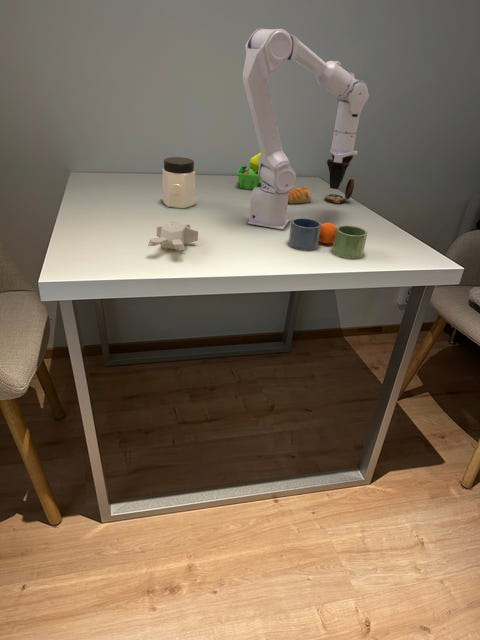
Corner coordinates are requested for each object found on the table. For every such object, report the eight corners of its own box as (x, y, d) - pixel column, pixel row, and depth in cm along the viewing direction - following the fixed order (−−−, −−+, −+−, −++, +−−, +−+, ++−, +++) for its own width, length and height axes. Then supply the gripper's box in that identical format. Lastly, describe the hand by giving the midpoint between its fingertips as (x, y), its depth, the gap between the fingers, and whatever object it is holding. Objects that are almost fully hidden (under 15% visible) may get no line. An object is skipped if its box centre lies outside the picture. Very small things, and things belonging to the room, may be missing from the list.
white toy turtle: (202, 221, 109) (188, 236, 96) (201, 242, 111) (187, 260, 98) (162, 217, 110) (143, 231, 96) (162, 238, 112) (143, 255, 98)
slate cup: (285, 247, 110) (288, 225, 107) (291, 237, 116) (294, 216, 113) (315, 252, 108) (319, 230, 106) (319, 242, 114) (323, 221, 111)
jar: (160, 206, 129) (159, 162, 123) (165, 198, 136) (165, 155, 130) (192, 209, 129) (193, 165, 123) (196, 201, 136) (197, 158, 130)
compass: (323, 197, 149) (327, 174, 146) (347, 199, 149) (352, 176, 146) (326, 204, 142) (330, 180, 139) (352, 206, 142) (357, 182, 139)
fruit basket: (240, 180, 160) (242, 146, 154) (266, 183, 159) (269, 148, 153) (235, 189, 150) (238, 152, 144) (263, 192, 149) (266, 155, 144)
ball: (323, 219, 115) (318, 239, 117) (317, 221, 111) (312, 241, 113) (342, 224, 113) (337, 244, 115) (337, 226, 109) (331, 247, 111)
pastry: (290, 206, 138) (292, 193, 136) (275, 200, 143) (276, 187, 141) (312, 202, 144) (314, 189, 142) (297, 196, 148) (298, 184, 146)
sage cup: (330, 255, 108) (334, 232, 105) (334, 245, 113) (338, 223, 111) (361, 261, 106) (366, 238, 103) (363, 250, 112) (368, 228, 109)
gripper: (358, 137, 112) (348, 194, 119) (363, 129, 124) (353, 181, 131) (329, 134, 114) (320, 189, 121) (336, 126, 126) (328, 177, 133)
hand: (335, 185), depth 126 cm, fingers open, 7 cm apart
